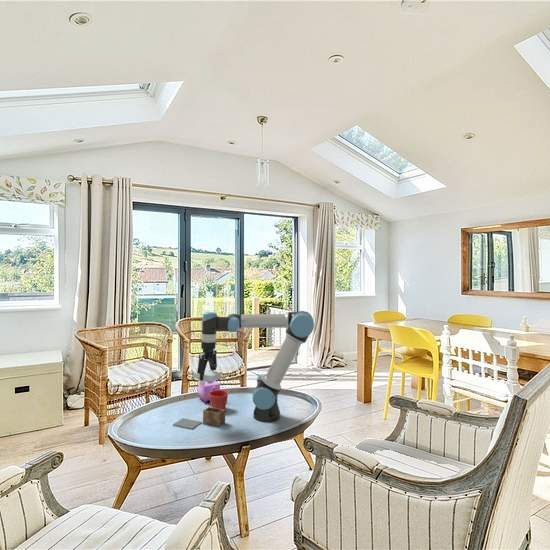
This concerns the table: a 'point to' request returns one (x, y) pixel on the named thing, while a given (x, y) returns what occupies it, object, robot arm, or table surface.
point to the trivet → (187, 423)
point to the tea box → (214, 416)
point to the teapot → (207, 390)
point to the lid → (208, 376)
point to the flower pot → (218, 399)
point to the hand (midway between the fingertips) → (206, 384)
